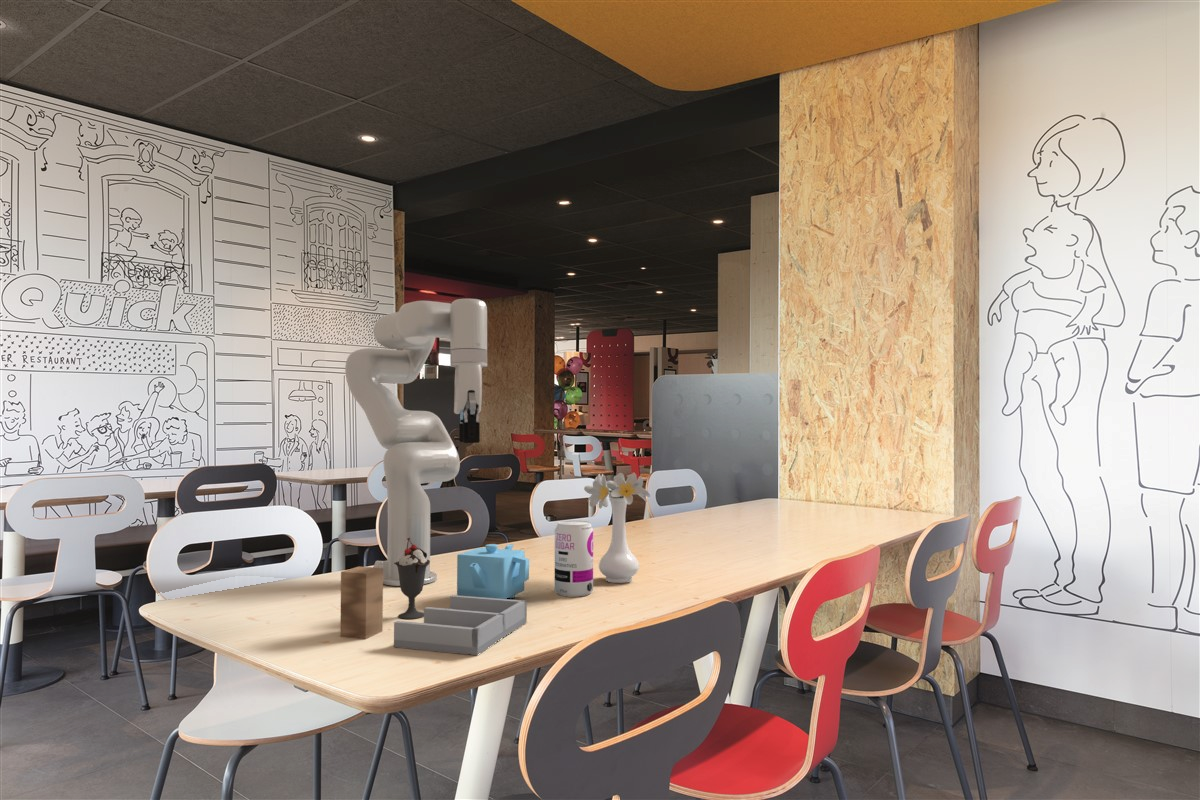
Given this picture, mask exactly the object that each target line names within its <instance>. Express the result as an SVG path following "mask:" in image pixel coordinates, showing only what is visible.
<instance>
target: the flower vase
mask: <svg viewBox="0 0 1200 800" xmlns="http://www.w3.org/2000/svg"><path fill="white" fill-rule="evenodd" d="M643 486H644V478H643V477H642V476H641V475H639V476H638V477H637V474H636V473H635V472H632V473H630V475H629V474H628V476H627V479H626V480H625V475H624V473H622V472H619V473H617V475H614V476H613V480H607V478H606V475H604V474H603V473H602V474H600V473H598V475H597V476H596V477H595V478H594V480H593V481H592V485H586V486H584V488H583V489H584V491H585V492H586V493H587V494H589V495H590V496H589V497H588V499H587V502H589V506H590V507H591V508H593V507H596V505H597V504H598V508H599V509H602V508H603V507H604V508H608V507H609V502H610V505H611V506H610V507H611V513H612V514H611V515H612V526H611V527H612V528H611V529H612V531H611V540H610V544H609V547H608V549H607V551H606V552H605V553H604V555H603V556H602V557H601V558H600V560H599V562H598V569H599V571H600V573H601V574H602V575H603V576H604V577H605V581H606V582H607V581H608V582H607V583H611V584H627V583H631V582H632V581H633V576H635V575H636V574H637V572H638V571H639V569H640V562H639V560H638V558H637V557H636V556H635V555H634V554H633V553H632V552H631V549H630V547H629V545H628V541H627V532H626V530H627V528H626V527H627V525H626V515H627V514H626V512H627V505H632V504H633V502H634V497H633V495H638V496H639V497H640V498H642V499H643V500H644V502H646V503H648V499H647V498H650V497H651V494H650V493H649V491H648V490H646V488H644V487H643ZM607 497H608V498H607ZM646 497H647V498H646ZM608 500H609V502H608Z"/></svg>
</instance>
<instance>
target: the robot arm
mask: <svg viewBox="0 0 1200 800" xmlns="http://www.w3.org/2000/svg"><path fill="white" fill-rule="evenodd" d="M372 330H373V331H372V332H373V336H374V337H373V338H374V339H375V340H376V342H377V343H378V344H379V345H380V346H382V347H384V348H375V347H373V348H369V347H368V348H359V349H357V350H354V351H353V352H351V353H350V354H349V355H348V357H347V359H346V361H345V365H344V366H345V368H344V370H345V371H344V372H345V379H346V384H347V387H348V389H349V391H350V394H351V395H352V397H353V399H355V400H356V402H357V403H358V405H359V406H360V408H361V409H362V410H363V412H364V414H365V415H366V418H367V421H368V422H369V424H370V426H371V429H372V432H373V434H374V435H375V437H376V440H377V441H378V443H379V445H381V447H383V448H384V449H386V451H385V453H384V456H383V470H384V477H385V482H386V492H387V542H386V543H387V545H386V546H387V552H386V553H387V554H386V555H387V557H386V558H387V559H386V560H375V562H374V564H373V567H374V568H383V585H387V586H393V587H400V581H399V573H398V567H397V565H396V564H394V563H396V562H399V560H400V558H401V557H402V556H403V554H404V553H405V552H404V551H405V550H406V549H407V543H408V548H410V547H411V546H412V544H413V545H416V546H417V548H420V549H422V550H423V551H424V552H426V553H427V557H426V559H427V560H430V561H431V502H430V498H429V496H428V494H427V493H426V491H425V490H424V488H423V487H422V485H421V484H432V483H434V484H435V483H443V482H444V483H445V482H450V481H451V480H454V479H455V478H456V477H457V475H458V474H459V471H460V467H461V465H460V464H461V462H460V455H459V452H458V450H457V448H456V446H455V444H454V442H453V440H452V438H451V436H450V434H449V432H448V430H447V429H446V426H445V424H444V423H443V422H442V420H441V418H440V417H439V416H438V415H437V414H435V413H434V412H431V411H428V410H409V409H406V408H404V406H402V404H401V402H400V400H399V398H398V396H397V395H396V394H395V393H394V392H393V391H392V390H390V389H389V388H388V387H386V386H385V385H383V384H398V385H399V384H400V385H401V384H402V385H404V384H406V385H407V384H410V383H412V382H414V381H415V380H416V379H417V378H418V376H419V374H421V371H422V369H423V367H424V365H425V363H426V361H427V360H428V357H429V356H430V354H431V352H432V349H433V347H434V345H435V341H436V338H439V339H448V340H450V342H449V343H450V345H449V346H450V347H449V348H450V353H449V354H450V356H449V357H450V363H449V364H450V365H449V366H450V367H453V368H455V371H454V396H453V397H454V399H453V401H454V402H453V405H454V407H453V413H454V414H456V415H459V414H460V416H459V418H460V419H459V424H458V425H459V427H458V428H459V429H458V431H459V432H458V433H459V434H458V436H459V442H460V443H464V444H479V443H480V442H481V441H480V437H481V435H480V434H481V432H480V431H481V429H480V426H481V425H480V422H479V420H480V417H479V413H481V411H482V402H483V401H482V398H483V397H482V396H483V374H482V373H483V372H482V370H483V368H487V367H488V307H487V304H486V302H485V301H484V300H481V299H478V298H458V299H455V300H453V301H452V302H451V303H450V302H441V301H435V300H434V301H431V300H416V301H411V302H408V303H407V302H406V303H404V304H402V305H401V307H400V308H399V309H398V311H396V312H392V313H388V314H385V315H383V316H381V317H380V318H378V320H376V322H375V324H374V325H373V328H372ZM407 538H410V541H409V542H408V540H407ZM410 542H411V543H412V544H411V543H410ZM437 575H438V574H437V573H435V572H434V571H431V562H430V563H429V565H427V566H426V571H425V578H424V585H426V584H430V583H433V582H435V581H436V580H438V579H437V577H438V576H437Z"/></svg>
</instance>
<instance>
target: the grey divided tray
mask: <svg viewBox="0 0 1200 800" xmlns="http://www.w3.org/2000/svg"><path fill="white" fill-rule="evenodd" d="M527 602H528V601H527V600H523V599H522V600H520V599H519V600H518V599H497V598H484V597H471V596H458V595H457V594H454V595H453V594H452V595H450V597H449V608H443V607H432V606H431V607H430V606H426V607H424V608H423V613H424V617H423V622H415V621H414V622H413V621H405V620H395V621H394V622H393V647H394V648H400V649H401V648H402V649H410V650H417V651H418V650H419V651H429V652H431V651H432V652H437V653H439V652H440V653H450V654H457V653H461V654H460V655H467V654H471V655H470V656H476V655H478V654H479V653H481V652H482V653H484V652H485V651H487V650H488V649H489V648H488V647H490V646H491V645H493V644H494V643H495V642H497V641H498V640H500V639H501V638H503V637H505V636H506V635H508V634H509V633H511V632H512V633H514V632H515V631H516V630H515V629H517V628H518V627H520V626H521V627H523V626H524V625H526V624H527V623H526V622H527V619H528V618H527V610H528V609H527V608H528V607H527V606H528V603H527ZM525 623H526V624H525ZM523 624H524V625H523ZM522 625H523V626H522ZM521 627H520V628H521ZM518 629H519V628H518ZM518 629H517V630H518ZM514 630H515V631H514ZM513 631H514V632H513ZM512 633H511V634H512ZM509 635H510V634H509ZM509 635H508V636H509ZM506 637H507V636H506ZM506 637H505V638H506ZM503 639H504V638H503ZM500 641H501V640H500ZM497 643H498V642H497ZM494 645H495V644H494ZM494 645H493V646H494ZM491 647H492V646H491ZM491 647H490V648H491ZM487 648H488V649H487ZM486 649H487V650H486ZM484 650H485V651H484ZM483 651H484V652H483ZM482 653H481V654H482ZM479 655H480V654H479ZM479 655H478V656H479Z"/></svg>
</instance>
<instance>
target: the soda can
mask: <svg viewBox="0 0 1200 800" xmlns="http://www.w3.org/2000/svg"><path fill="white" fill-rule="evenodd" d="M554 591H555V592H556V593H557V594H559V596H561V595H562V597H566V596H570V598H576V597H577V598H579V597H580V596H581V597H586V596H588V594H589V595H590V594H591V593H592V592H593V591H594V528H593V526H592V524H591V522H590V521H589V520H588V521H587V520H563V521H562V520H561V521H558V522H557V525H556V526H555V529H554ZM581 597H580V598H581Z"/></svg>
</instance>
